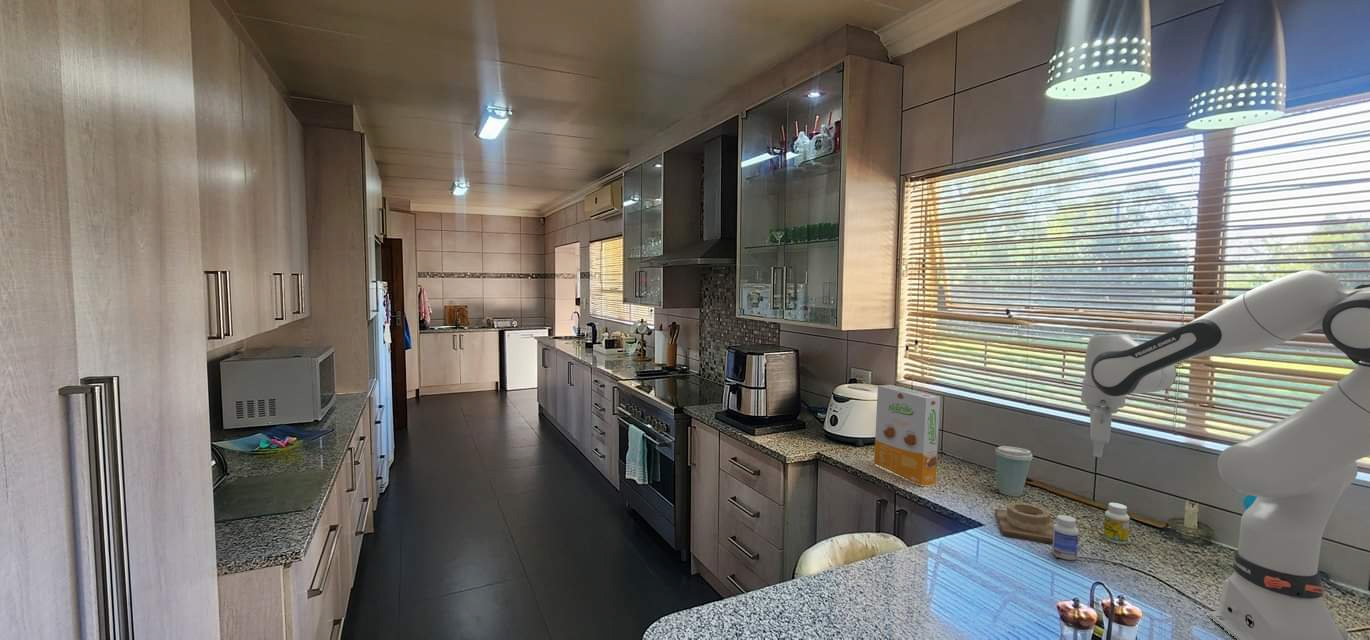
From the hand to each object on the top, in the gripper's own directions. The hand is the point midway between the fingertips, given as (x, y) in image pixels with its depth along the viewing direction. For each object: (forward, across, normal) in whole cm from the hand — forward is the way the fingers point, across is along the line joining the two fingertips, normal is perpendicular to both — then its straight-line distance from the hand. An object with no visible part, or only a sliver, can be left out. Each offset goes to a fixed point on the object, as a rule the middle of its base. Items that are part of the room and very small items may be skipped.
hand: (1097, 451), depth 143 cm
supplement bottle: (+27, +14, -6) cm, 32 cm away
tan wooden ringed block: (+27, +8, +14) cm, 32 cm away
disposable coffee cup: (+28, +36, +20) cm, 50 cm away
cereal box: (+29, +32, +53) cm, 68 cm away
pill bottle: (+27, -4, +5) cm, 28 cm away
